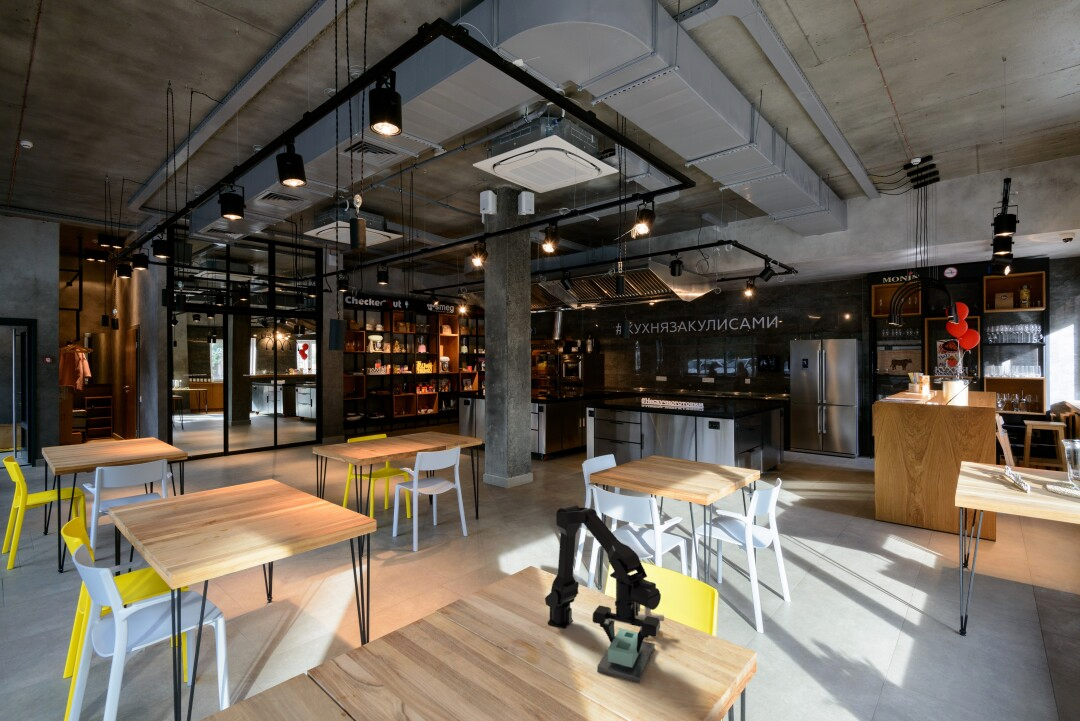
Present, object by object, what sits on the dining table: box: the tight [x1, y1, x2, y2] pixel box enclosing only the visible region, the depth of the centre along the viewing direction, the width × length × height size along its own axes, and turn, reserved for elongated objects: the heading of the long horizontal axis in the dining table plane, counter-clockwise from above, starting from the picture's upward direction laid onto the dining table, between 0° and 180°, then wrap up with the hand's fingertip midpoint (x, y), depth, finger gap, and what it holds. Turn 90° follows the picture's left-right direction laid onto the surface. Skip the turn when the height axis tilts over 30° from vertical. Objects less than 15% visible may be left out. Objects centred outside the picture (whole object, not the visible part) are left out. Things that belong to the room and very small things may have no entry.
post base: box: [596, 640, 656, 684], centre depth 148 cm, size 12×18×4 cm, turn 154°
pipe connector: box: [636, 606, 665, 622], centre depth 162 cm, size 10×10×10 cm
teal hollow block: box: [607, 628, 643, 668], centre depth 147 cm, size 12×7×4 cm, turn 154°
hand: (625, 649), depth 147 cm, fingers closed on teal hollow block, 7 cm apart
